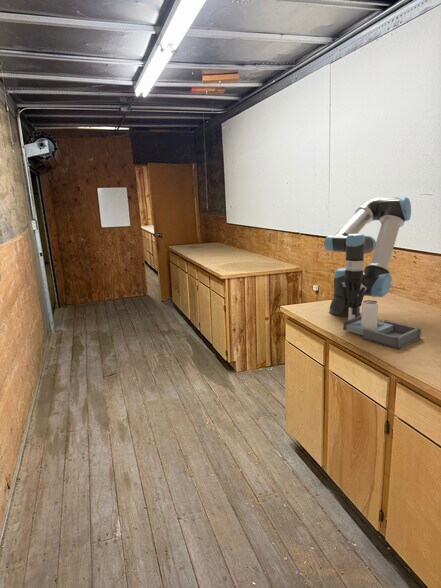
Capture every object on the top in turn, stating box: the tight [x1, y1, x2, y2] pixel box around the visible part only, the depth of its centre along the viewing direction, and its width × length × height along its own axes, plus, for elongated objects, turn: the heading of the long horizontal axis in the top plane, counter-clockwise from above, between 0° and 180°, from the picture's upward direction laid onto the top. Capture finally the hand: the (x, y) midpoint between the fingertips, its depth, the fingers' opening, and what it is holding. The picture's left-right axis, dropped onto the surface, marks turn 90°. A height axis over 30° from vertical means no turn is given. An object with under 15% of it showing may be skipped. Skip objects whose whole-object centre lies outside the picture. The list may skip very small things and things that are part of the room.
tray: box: [342, 315, 394, 336], centre depth 171 cm, size 15×14×4 cm
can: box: [360, 299, 379, 330], centre depth 169 cm, size 6×6×12 cm
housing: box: [361, 319, 422, 351], centre depth 163 cm, size 16×18×4 cm
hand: (351, 321), depth 177 cm, fingers closed
